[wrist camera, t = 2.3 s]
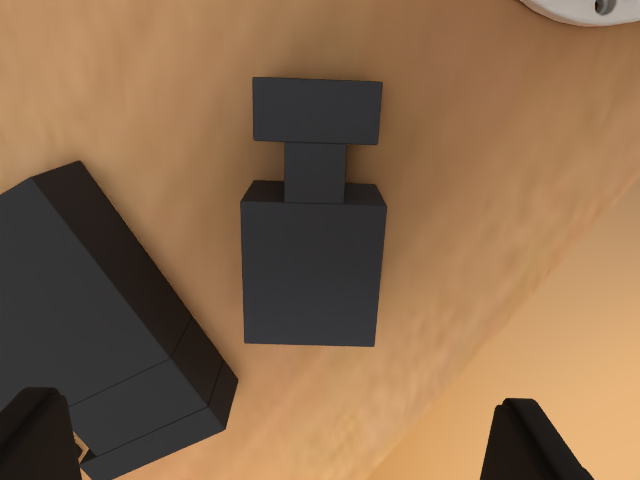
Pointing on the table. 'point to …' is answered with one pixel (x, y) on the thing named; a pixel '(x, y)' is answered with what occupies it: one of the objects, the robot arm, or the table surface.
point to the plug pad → (313, 218)
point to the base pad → (101, 328)
